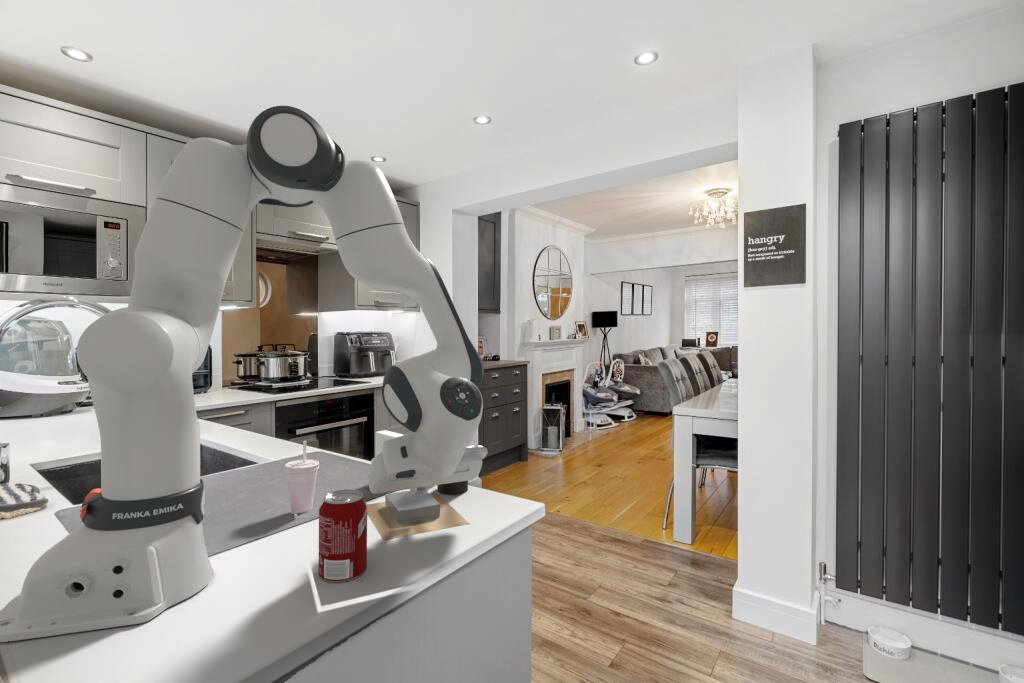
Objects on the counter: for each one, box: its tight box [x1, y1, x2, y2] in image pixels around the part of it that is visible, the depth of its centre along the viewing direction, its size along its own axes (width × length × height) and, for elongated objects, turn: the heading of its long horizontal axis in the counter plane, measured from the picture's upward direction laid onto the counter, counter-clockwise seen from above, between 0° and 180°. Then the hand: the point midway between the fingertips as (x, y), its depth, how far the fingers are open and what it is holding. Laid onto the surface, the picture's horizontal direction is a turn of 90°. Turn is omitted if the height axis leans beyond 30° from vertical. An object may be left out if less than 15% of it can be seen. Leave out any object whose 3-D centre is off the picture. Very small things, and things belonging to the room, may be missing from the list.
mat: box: [367, 493, 471, 541], centre depth 95 cm, size 16×18×1 cm
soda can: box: [318, 488, 368, 584], centre depth 73 cm, size 7×7×12 cm
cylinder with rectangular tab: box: [370, 429, 404, 466], centre depth 114 cm, size 9×9×12 cm
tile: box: [384, 490, 440, 524], centre depth 96 cm, size 8×2×10 cm
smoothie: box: [284, 440, 320, 514], centre depth 97 cm, size 6×6×14 cm
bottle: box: [436, 443, 470, 496], centre depth 110 cm, size 7×7×20 cm
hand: (417, 491), depth 93 cm, fingers closed
